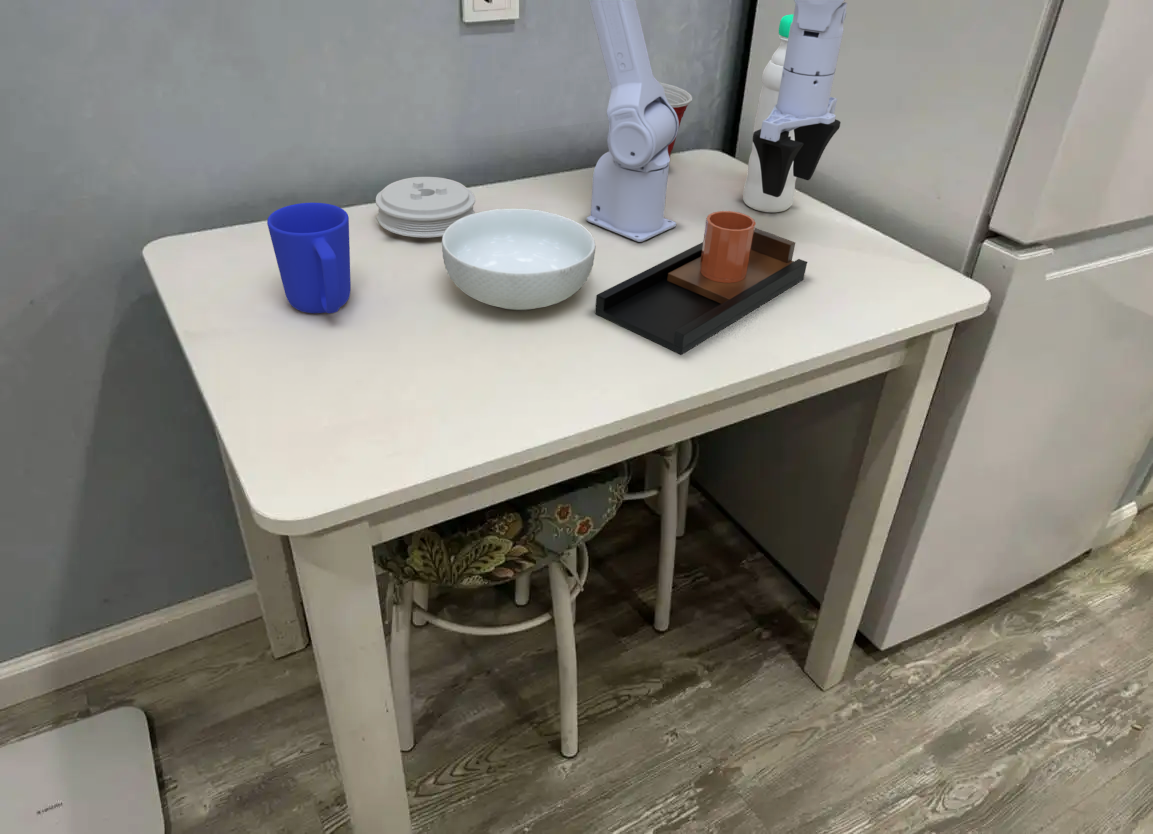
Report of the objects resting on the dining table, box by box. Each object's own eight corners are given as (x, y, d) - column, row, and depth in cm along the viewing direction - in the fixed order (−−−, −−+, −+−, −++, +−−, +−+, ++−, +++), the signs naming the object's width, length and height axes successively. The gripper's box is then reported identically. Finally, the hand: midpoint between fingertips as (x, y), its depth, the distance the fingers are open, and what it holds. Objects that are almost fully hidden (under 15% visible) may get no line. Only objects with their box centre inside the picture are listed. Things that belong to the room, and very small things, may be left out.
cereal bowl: (467, 341, 93) (465, 281, 89) (428, 272, 106) (425, 216, 102) (615, 318, 99) (620, 259, 95) (562, 254, 111) (564, 200, 107)
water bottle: (795, 215, 125) (833, 24, 110) (745, 212, 125) (776, 21, 110) (786, 195, 131) (821, 12, 116) (738, 193, 130) (767, 9, 116)
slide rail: (594, 313, 100) (596, 294, 98) (722, 248, 115) (724, 230, 114) (681, 355, 93) (683, 335, 92) (803, 279, 109) (807, 261, 107)
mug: (299, 344, 92) (285, 255, 86) (273, 292, 100) (259, 208, 94) (377, 328, 95) (369, 241, 89) (346, 279, 103) (336, 197, 98)
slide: (666, 280, 105) (669, 254, 103) (733, 246, 114) (737, 221, 112) (729, 307, 100) (733, 280, 98) (793, 269, 109) (798, 243, 107)
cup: (690, 271, 105) (697, 219, 101) (717, 257, 108) (724, 207, 105) (729, 287, 102) (737, 234, 98) (755, 272, 106) (764, 221, 102)
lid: (493, 232, 116) (492, 195, 113) (403, 252, 110) (400, 214, 107) (448, 198, 124) (446, 163, 121) (362, 215, 118) (358, 179, 115)
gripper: (811, 89, 93) (787, 212, 101) (869, 65, 103) (843, 179, 111) (752, 75, 97) (734, 195, 105) (814, 53, 106) (793, 164, 114)
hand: (787, 185), depth 108 cm, fingers open, 7 cm apart
